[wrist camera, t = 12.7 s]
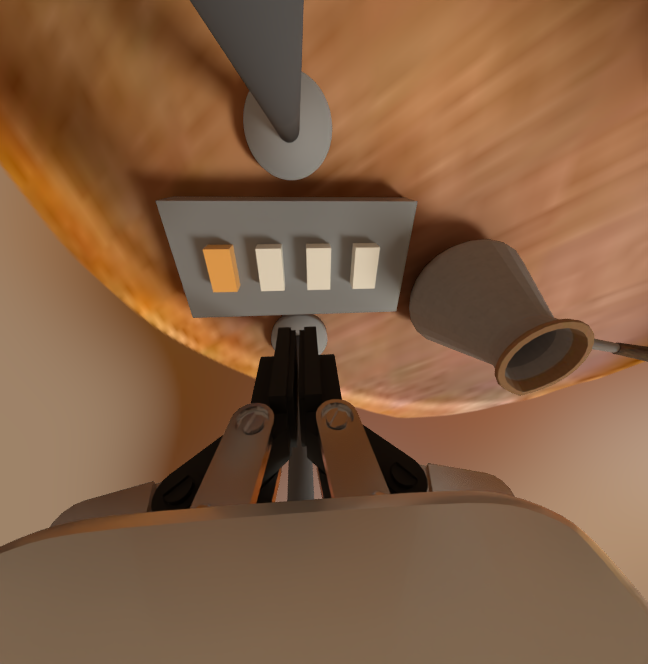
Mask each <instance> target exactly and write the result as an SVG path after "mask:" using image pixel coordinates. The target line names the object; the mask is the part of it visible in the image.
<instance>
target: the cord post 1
mask: <svg viewBox="0 0 648 664" xmlns="http://www.w3.org/2000/svg"><path fill="white" fill-rule="evenodd" d="M190 1H191V3H192V4H193V6H194V7H195V9H196V10H197V12H198V13H199V15H200V16H201V18H202V19H203V21H204V22H205V24H206V25H207V27H208V28H209V30H210V32H211V33H212V35H213V36H214V38H215V39H216V41H217V42H218V44H219V45H220V47H221V48H222V50H223V51H224V53H225V54H226V56H227V57H228V59H229V60H230V62H231V63H232V65H233V66H234V68H235V69H236V71H237V72H238V74H239V75H240V77H241V78H242V80H243V81H244V83H245V85H246V86H247V88H248V89H249V93H248V95H247V98H246V102H245V105H244V113H243V124H244V132H245V137H246V140H247V143H248V146H249V148H250V150H251V152H252V154H253V156H254V157H255V159H256V160H257V162H258V163H259V164H260V165H261V166H262V167H263V168H264V169H265V170H266V171H267V172H269V173H270V174H272V175H274V176H275V177H278V178H281V179H285V180H298V179H302V178H305V177H307V176H309V175H310V174H312V173H313V172H314V171H316V170H317V169H318V168H319V166H320V165H321V164H322V162H323V161H324V159H325V157H326V155H327V153H328V150H329V147H330V143H331V138H332V120H331V114H330V109H329V106H328V103H327V101H326V98H325V96H324V94H323V93H322V91H321V89H320V88H319V87H318V85H317V84H316V83H315V82H314V81H313V80H312V79H311V78H310V77H309V76H308V75H306V74H305V73H303V72H301V68H302V36H303V4H304V0H190Z"/></svg>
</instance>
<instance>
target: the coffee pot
mask: <svg viewBox="0 0 648 664" xmlns="http://www.w3.org/2000/svg"><path fill="white" fill-rule="evenodd" d="M409 312H410V317H411V322H412V323H413V325H414V327H415V329H416V330H417V331H418V332H419V333H420V334H421V335H422V336H423V337H425V338H426V339H428V340H431V341H433V342H436V343H438V344H441V345H443V346H446V347H448V348H451V349H454V350H456V351H459V352H461V353H464V354H466V355H469V356H472V357H474V358H477V359H479V360H482V361H484V362H487V363H490V364H492V365H493V366H494V367H495V377H496V379H497V382H498V384H499V385H500V386H501V387H503V388H504V389H506V390H508V391H509V392H511V393H514V394H517V395H519V396H521V395H524V394H528V393H532V392H535V391H538V390H541V389H544V388H546V387H548V386H551V385H553V384H555V383H557V382H559V381H560V380H562V379H564V378H565V377H567V376H568V375H570V374H571V373H572V372H573V371H575V370H576V369H577V368H578V367H579V366H580V365H581V364H582V363H583V362H584V361H585V360H586V358H587V357H588V355H589V354H590V352H591V350H592V349H595V350H601V351H607V352H612V353H613V354H618V355H622V356H626V357H630V358H635V359H639V360H643V361H647V362H648V347H646V346H638V345H631V344H624V343H613V342H608V341H603V340H598V339H594V333H593V331H592V330H591V328H590V327H589V325H587V324H585V323H584V322H582V321H579V320H572V319H556V318H554V317H553V315H552V313H551V311H550V310H549V308H548V306H547V304H546V302H545V300H544V299H543V297H542V295H541V293H540V291H539V290H538V288H537V286H536V284H535V282H534V281H533V279H532V277H531V275H530V273H529V272H528V270H527V268H526V266H525V264H524V262H523V261H522V259H521V258H520V256H519V255H518V253H517V252H516V250H514V249H513V248H511V247H510V246H508V245H507V244H505V243H503V242H500V241H495V240H490V239H483V240H473V241H468V242H465V243H462V244H459V245H456V246H453V247H451V248H449V249H447V250H446V251H444V252H442V253H441V254H439V255H438V256H436V257H435V258H434V259H433V260H432V261H431V262H430V263H429V264H428V265H427V266H425V268H424V269H423V270H422V272H421V273H420V275H419V276H418V278H417V279H416V281H415V284H414V286H413V288H412V291H411V296H410V304H409Z"/></svg>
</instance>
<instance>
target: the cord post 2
mask: <svg viewBox="0 0 648 664" xmlns="http://www.w3.org/2000/svg"><path fill="white" fill-rule="evenodd" d="M311 326H316V331H317V343H318V355H320V354H321V353H322V352H323V351H324V349H325V347H326V344H327V333H326V328H325V325H324V324H323V322H322V321H321V320H320V319H319V318H318V317H317V316H315V315H313V314H295V315H283V316H282V317H281V318H279V319H278V320H277V321H276V323H275V325H274V327H273V330H272V337H271V342H272V346H273V348H274V350H275V347H276V340H277V333H278V328H279V327H291V330H296V342H297V359H298V376H299V330H304V327H311ZM312 467H313V466H312V462H311V461H310V460H309V459H308V458H307V447H302V445H301V430H300V415H299V399H298V442H297V447H292V456H290V459H289V470H288V500H287V501H300V500H314V487H313V468H312Z"/></svg>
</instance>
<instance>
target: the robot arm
mask: <svg viewBox="0 0 648 664" xmlns="http://www.w3.org/2000/svg"><path fill="white" fill-rule="evenodd" d="M298 399H299V415H300V430H301V445H302V447H307V458H308V459H309V460H310V461H311V462H313V463H314V464H315V465H316V466H317V474H318V479H319V484H320V489H321V495H322V499H314V500H300V501H287V502H275V500H276V496H277V491H278V487H279V482H280V477H281V473H282V466H283V465H284V464H285V463H286V462H287V461H288V460H289V459H290V456H292V447H297V442H298ZM0 664H648V602H647V601H646V600H645V598H644V597H643V596H642V595H641V594H640V592H639V591H638V590H637V589H636V588H635V586H634V585H633V584H632V583H631V582H630V580H629V579H628V578H627V577H626V576H625V575H624V573H623V572H622V571H621V570H620V569H619V568H618V567H617V565H615V563H614V562H613V561H612V560H611V559H610V558H609V556H608V555H607V554H606V553H605V552H604V551H603V550H602V549H601V548H600V547H599V546H598V545H597V544H596V543H595V542H594V541H593V540H592V539H591V538H590V537H589V536H588V535H587V534H586V533H585V532H584V531H582V530H581V529H580V528H579V527H577V526H576V525H575V524H574V523H573V522H571V521H569V520H568V519H566V518H565V517H563V516H561V515H560V514H557V513H555V512H553V511H551V510H549V509H547V508H545V507H542V506H540V505H538V504H535V503H532V502H530V501H527V500H524V499H521V498H517V497H515V496H514V495H513V493H512V491H511V489H510V488H509V487H508V486H507V485H506V484H505V483H504V482H503V481H502V480H500V479H499V478H497V477H495V476H494V475H490V474H488V473H483V472H477V471H471V470H466V469H460V468H454V467H448V466H442V465H436V464H431V463H428V464H427V466H425V465H419V464H418V463H417V462H416V461H415V460H414V459H412V458H411V457H409V456H408V455H406V454H405V453H404V452H402V451H401V450H399V449H398V448H396V447H395V446H393V445H392V444H390V443H389V442H387V441H386V440H384V439H383V438H382V437H380V436H379V435H377V434H376V433H374V432H373V431H371V430H370V429H368V428H367V427H365V426H364V425H362V423H361V420H360V418H359V415H358V413H357V411H356V409H355V407H354V406H353V405H351V404H350V403H349V402H347V401H344V400H342V398H341V392H340V386H339V380H338V373H337V367H336V361H335V356H334V354H329V355H318V343H317V331H316V326H311V327H304V330H299V376H298V359H297V342H296V330H291V327H279V328H278V333H277V340H276V347H275V354H274V356H272V357H261V359H260V363H259V367H258V372H257V377H256V381H255V386H254V390H253V395H252V401H251V404H247V405H245V406H243V407H241V408H239V409H238V410H237V411H236V412H235V413H234V414H233V416H232V418H231V419H230V422H229V424H228V426H227V428H226V430H225V433H224V435H222V436H221V437H220V438H218V439H217V440H216V441H214V442H213V443H212V444H210V445H209V446H208V447H206V448H205V449H203V450H202V451H201V452H200V453H198V454H197V455H195V456H194V457H193V458H191V459H190V460H189V461H187V462H186V463H185V464H183V465H182V466H181V467H179V468H178V469H177V470H175V471H174V472H173V473H171V474H170V475H169V476H168V477H167V478H165V479H164V480H163V481H162V482H160V483H157V484H155V482H154V481H152V482H148V483H145V484H141V485H138V486H134V487H131V488H127V489H123V490H120V491H117V492H113V493H109V494H106V495H103V496H99V497H95V498H92V499H88V500H85V501H82V502H80V503H77V504H75V505H73V506H72V507H70V508H69V509H67V510H66V511H64V512H63V513H62V514H61V515H60V516H59V517H58V518H57V519H56V520H55V521H54V522H53V523H52V524H51V526H50V527H49V528H46V529H43V530H40V531H37V532H35V533H32V534H29V535H27V536H24V537H21V538H19V539H16V540H14V541H12V542H10V543H7V544H5V545H3V546H0Z"/></svg>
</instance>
